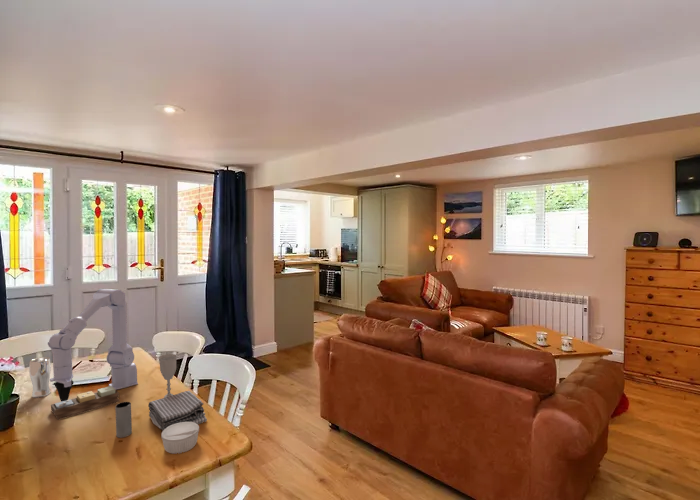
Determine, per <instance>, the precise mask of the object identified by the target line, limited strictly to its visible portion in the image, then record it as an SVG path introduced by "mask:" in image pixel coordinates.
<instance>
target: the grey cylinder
mask: <svg viewBox="0 0 700 500" xmlns="http://www.w3.org/2000/svg"><path fill="white" fill-rule="evenodd" d="M114 407H115V409H114V410H115V434H116V438H122V439H123V438H126V437H128V436H130V435H131V434H132V433H133V432H132V431H133V429H132V402H130V401H121V402H118V403H117V404H116V405H115V406H114Z"/></svg>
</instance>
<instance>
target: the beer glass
mask: <svg viewBox="0 0 700 500" xmlns="http://www.w3.org/2000/svg"><path fill="white" fill-rule="evenodd" d="M28 369H29V377H30V378H29V379H30V382H31V385H32V393H31V397H32V398H38V399H39V398H43V397H46V396H49V395H50V394H51V390H50V389H51V388H50V379H51V370H52V366H51V359H50V357H49V356H41V357H35V358H33V359H30V360H29V368H28Z"/></svg>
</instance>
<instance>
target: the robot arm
mask: <svg viewBox="0 0 700 500" xmlns="http://www.w3.org/2000/svg"><path fill="white" fill-rule="evenodd" d="M127 304H128V303H127V301H126V293H125V292H124V291H122V289H111V288H98V289H97V291H95V293H93V294H92V299H91V300H90V301H89V303H87V305H86V306H85V308H84V309H83V310H81V313H80V314H79V315H78V316H73V317H72V318H70V319H68V322H67V323H66V324H65V325H64V327H62V328H61V329H59V331H58V332H57V333H54V334H52V336H51V337H50V338H49V340H48V342H47V345H48V347H49V349H50V351H51V353H52V367H53V368H52V370H53V373H52V374H53V377H50V379H49V383H51V382H52V383H53V385H54V387H55V389H56V390H57V394H58V397H59V400H60V402H62V401H66V400H69V398H70V392H71V389H72V387H73V385H74V380H73V378H74V374H73V358H72V357H73V356H72V355H73V354H72V353H73V352H72V351H73V350H72V348H73V347H74V346H75V344H76V340H77V337H78V336H79V335H80V334H81V332H83V330H84V329H86V327H87V321H88V320H90V319H91V318H92V317H93V316H94V315H95V314H96V313H97V312H98V311H99V310H100V309H101V308H105V307H108V308H109V309H111V311H112V312H111V313H112V314H111V315H112V316H111V317H112V321H111V322H112V323H111V325H112V345H111V346H109V347H108V352H107V355H106V362H107V364H109V367H111V368H110V369H111V370H110V371H111V383H109V384H108V387H109V386H112V387H113V388H114V389H115V390H116V391H117V390H121V389H124V388H128V387H131V386H135V385H138V384H139V383H138V369H137V365H136V363H135V362H134V360H135V353H134V351H133V347H132V346H131V345H130V344H129V343H128V305H127Z"/></svg>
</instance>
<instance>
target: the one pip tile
mask: <svg viewBox="0 0 700 500" xmlns="http://www.w3.org/2000/svg"><path fill="white" fill-rule="evenodd" d="M96 392H97V393H98V395H99V396H100V397H103V396H107V395H111V394H114V393H115V389H114V388H113V387H112V386H109V385H108V386H106V387H102V388H97V391H96Z"/></svg>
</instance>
